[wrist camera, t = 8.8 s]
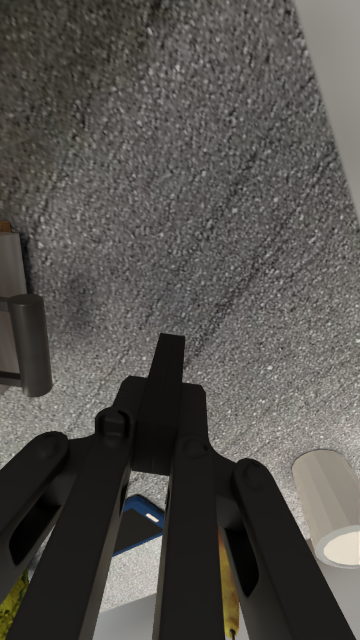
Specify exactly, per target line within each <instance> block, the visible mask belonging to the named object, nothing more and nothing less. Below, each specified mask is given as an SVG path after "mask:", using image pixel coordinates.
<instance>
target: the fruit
mask: <svg viewBox="0 0 360 640" xmlns="http://www.w3.org/2000/svg"><path fill="white" fill-rule="evenodd" d="M217 525H218V540H219V554H220V569H221V584H222V598H223V613H224V628H225V634H226V635H227V636H228V637H229V638H232V640H235V636H236V635H237V634H238V630H239V599H238V595H237V591H236V588H235V584H234V580H233V576H232V573H231V569H230V565H229V562H228V558H227V554H226V550H225V547H224V543H223V539H222V536H221V532H220V528H219V524H217Z"/></svg>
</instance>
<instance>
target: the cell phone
mask: <svg viewBox="0 0 360 640" xmlns="http://www.w3.org/2000/svg"><path fill="white" fill-rule="evenodd" d="M164 517H165V514H164V513H163V512H162V511H160V510H159V509H157V508H156V507H155V506H153V505H152V504H150V503H149V502H147V501H146V500H145V499H143V498H141V497H139V496H134V497H132V498H130V499H128V500H126V501H125V504H124V509H123V513H122V517H121V521H120V525H119V530H118V534H117V538H116V542H115V546H114V551H113V555H112V557H114V556H116V555H118V554H121V553H123V552H125V551H127V550H130V549H132V548H134V547H136V546H139V545H141V544H143V543H146V542H148V541H150V540H152V539H155V538H157V537H159V536H161V535H163V526H164Z"/></svg>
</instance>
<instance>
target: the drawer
mask: <svg viewBox="0 0 360 640" xmlns="http://www.w3.org/2000/svg"><path fill="white" fill-rule="evenodd" d="M11 386H16V387H22V389H23V393H24V394H25V395H26V396H28V397H40V396H43V395H45V394H47V393H48V392H50V391H51V389H52V387H53V384H52V374H51V365H50V356H49V346H48V337H47V328H46V318H45V309H44V300H43V297H42V296H39V295H35V294H27V290H26V282H25V275H24V268H23V260H22V253H21V245H20V238H19V234H16V233H9V232H0V396H1V395H2V394H3V393H4V392H5V391H6V390H7V389H8V388H10V387H11Z"/></svg>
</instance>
